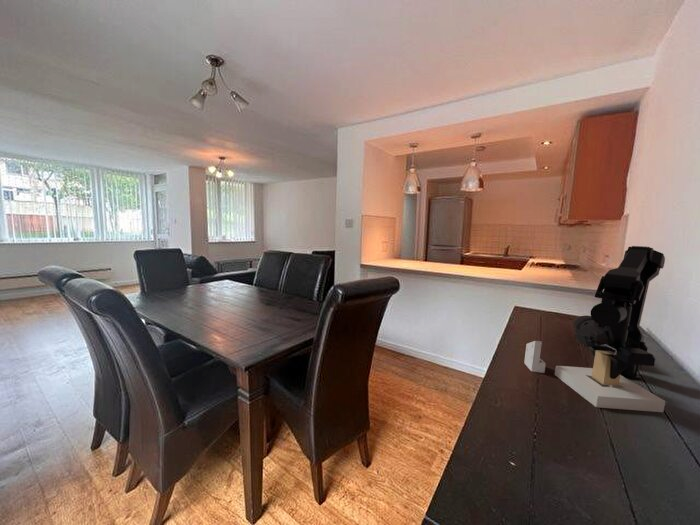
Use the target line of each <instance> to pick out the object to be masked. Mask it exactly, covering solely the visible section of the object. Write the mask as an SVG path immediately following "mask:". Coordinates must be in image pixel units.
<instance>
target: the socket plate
mask: <svg viewBox="0 0 700 525" xmlns="http://www.w3.org/2000/svg"><path fill="white" fill-rule="evenodd" d="M592 371H593V367H580V366H569V365H568V366H566V365H555V369H554V376H556V377H557V378H558V379H559V380H561V381H562V382H563V383H564V384H566V385H567V386H568V387H570V388H571V389H572V390H573V391H575V392H576V393H577V394H578V395H580V396H581V397H582V398H583V399H585V400H586V401H588V402H589V403H590V404H592V406H594V407H595V408H600V409H601V408H603V409H612V410H613V409H615V410H616V409H617V410H625V411H626V410H628V411H641V412H642V411H643V412H653V413H655V412H656V413H664V411H665V405H666V400H664V399H663V398H661V397H659V396H658V395H656V394H654V393H651V392H650V391H649V390H647V389H646V388H643V387H642V386H640V385H638V384H636V383H635V382H633V381H632V380H631V379H629V378H625V377H623V376H621V375H620V381H619V386H615V385H603V384H602V383H600V382H598V381H597V380H595V379H594V378H592Z"/></svg>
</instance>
